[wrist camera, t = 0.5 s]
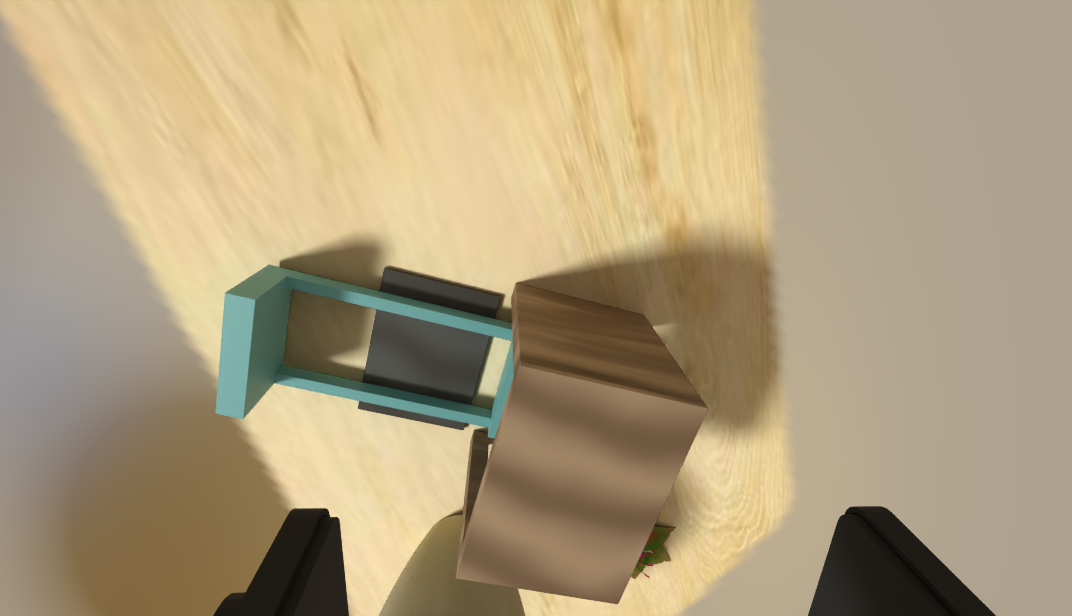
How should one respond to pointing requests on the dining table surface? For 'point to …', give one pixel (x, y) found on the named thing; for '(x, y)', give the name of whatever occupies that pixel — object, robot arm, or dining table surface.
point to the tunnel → (549, 432)
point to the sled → (258, 364)
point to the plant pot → (446, 582)
